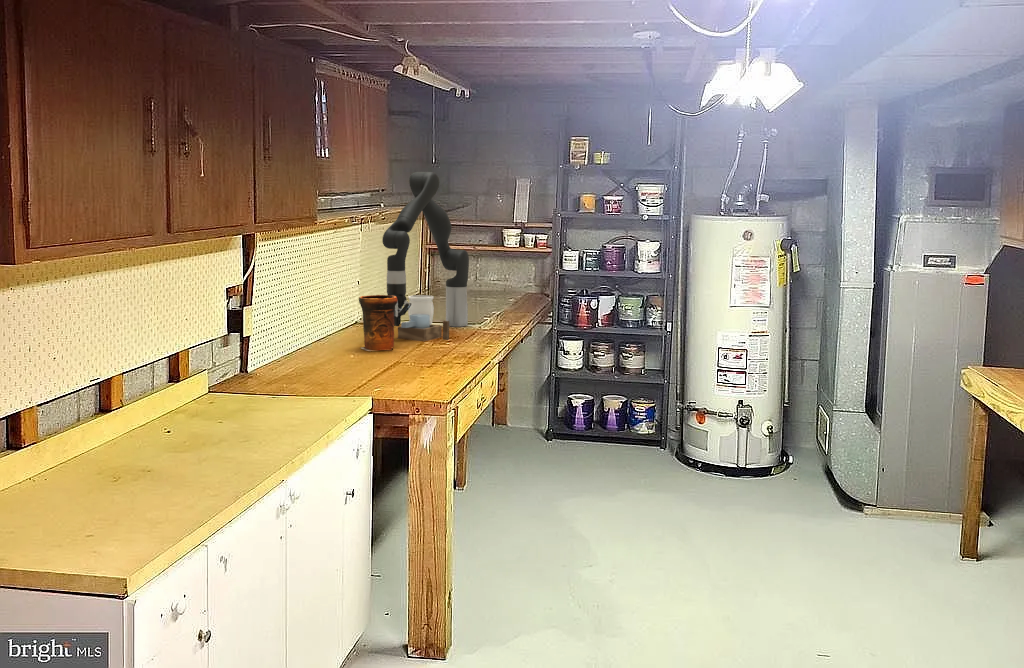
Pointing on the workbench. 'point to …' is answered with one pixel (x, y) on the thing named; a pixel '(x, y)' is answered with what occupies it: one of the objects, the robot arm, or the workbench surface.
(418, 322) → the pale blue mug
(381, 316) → the vessel
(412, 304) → the jar
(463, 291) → the robot arm
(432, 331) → the cradle
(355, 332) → the workbench surface
